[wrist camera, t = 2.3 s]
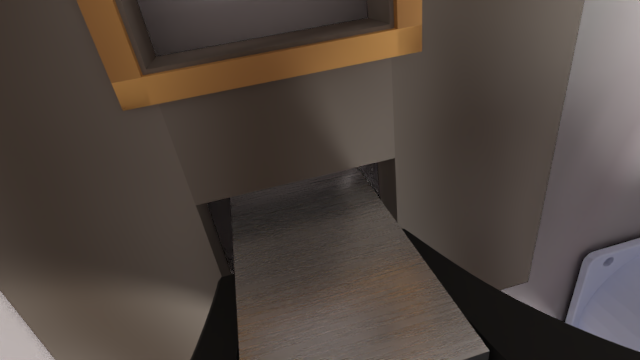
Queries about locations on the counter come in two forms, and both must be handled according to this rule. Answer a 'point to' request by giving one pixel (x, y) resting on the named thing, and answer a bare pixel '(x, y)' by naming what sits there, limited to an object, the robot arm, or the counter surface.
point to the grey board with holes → (258, 149)
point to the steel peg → (337, 279)
